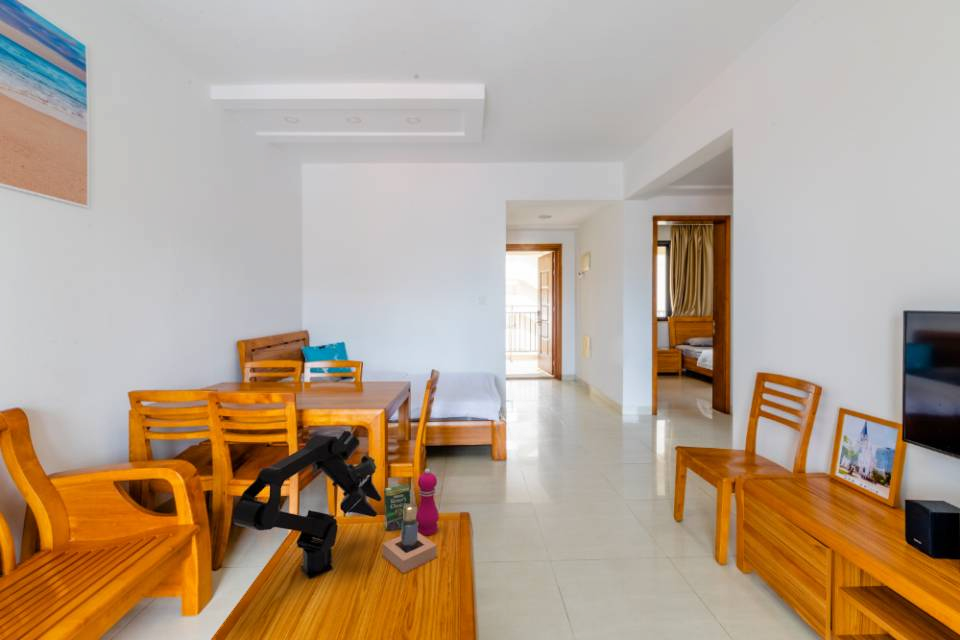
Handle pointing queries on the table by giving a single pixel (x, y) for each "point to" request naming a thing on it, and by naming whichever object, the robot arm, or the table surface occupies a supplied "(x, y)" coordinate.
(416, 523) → the tube
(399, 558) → the socket block
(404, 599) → the table surface
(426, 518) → the pepper mill
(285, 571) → the table surface
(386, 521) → the coffee box
